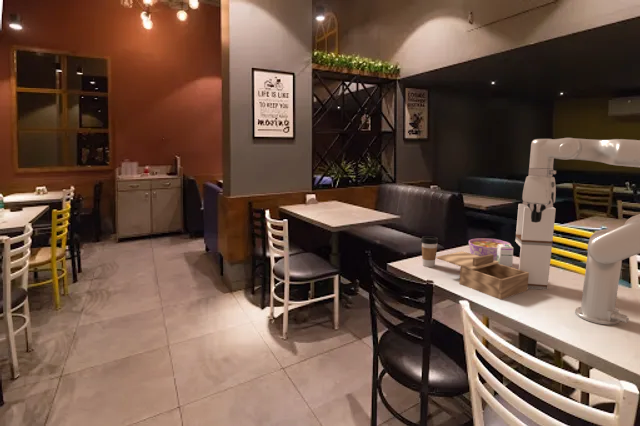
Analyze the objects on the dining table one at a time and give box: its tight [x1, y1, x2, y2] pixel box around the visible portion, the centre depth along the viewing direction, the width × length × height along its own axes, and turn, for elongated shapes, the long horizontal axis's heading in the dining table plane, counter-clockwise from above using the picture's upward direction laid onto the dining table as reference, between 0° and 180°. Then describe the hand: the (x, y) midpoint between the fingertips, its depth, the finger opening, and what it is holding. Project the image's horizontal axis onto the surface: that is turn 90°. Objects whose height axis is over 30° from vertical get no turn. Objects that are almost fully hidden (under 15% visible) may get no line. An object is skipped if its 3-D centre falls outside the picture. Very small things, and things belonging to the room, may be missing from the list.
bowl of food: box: [468, 237, 512, 261], centre depth 190 cm, size 20×20×12 cm
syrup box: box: [497, 244, 514, 268], centre depth 173 cm, size 6×6×14 cm
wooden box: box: [459, 264, 529, 300], centre depth 159 cm, size 20×18×8 cm
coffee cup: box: [420, 235, 439, 268], centre depth 189 cm, size 8×8×15 cm
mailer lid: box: [436, 250, 499, 270], centre depth 170 cm, size 20×18×4 cm
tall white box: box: [514, 203, 557, 291], centre depth 160 cm, size 11×11×35 cm
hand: (535, 221), depth 139 cm, fingers closed
